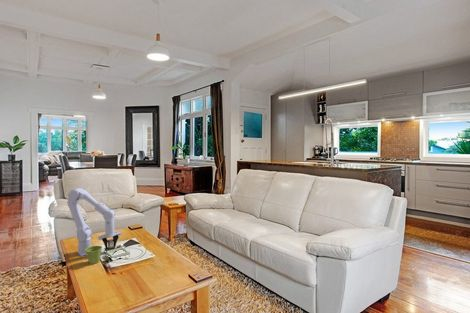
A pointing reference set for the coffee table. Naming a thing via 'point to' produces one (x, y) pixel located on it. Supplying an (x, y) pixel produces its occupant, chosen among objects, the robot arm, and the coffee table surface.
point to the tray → (118, 254)
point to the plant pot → (94, 254)
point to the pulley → (121, 246)
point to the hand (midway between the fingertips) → (110, 247)
